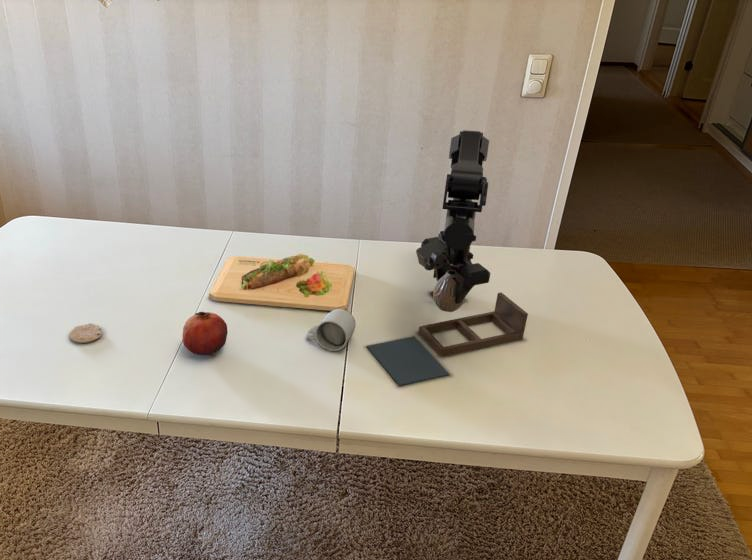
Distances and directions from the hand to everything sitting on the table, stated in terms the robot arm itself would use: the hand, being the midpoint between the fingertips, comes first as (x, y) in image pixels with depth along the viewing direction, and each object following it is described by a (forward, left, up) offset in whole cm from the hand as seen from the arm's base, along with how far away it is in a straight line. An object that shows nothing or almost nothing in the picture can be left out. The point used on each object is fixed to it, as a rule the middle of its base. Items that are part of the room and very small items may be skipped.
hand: (449, 295), depth 159 cm
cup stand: (-1, +7, -13) cm, 15 cm away
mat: (+3, -11, -13) cm, 17 cm away
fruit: (-16, -52, -13) cm, 56 cm away
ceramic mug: (-10, -24, -13) cm, 29 cm away
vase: (0, 0, -3) cm, 3 cm away
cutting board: (-39, -25, -13) cm, 48 cm away
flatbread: (-32, -77, -13) cm, 84 cm away
